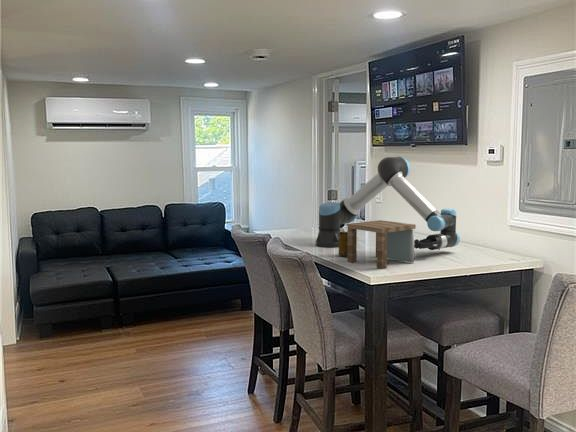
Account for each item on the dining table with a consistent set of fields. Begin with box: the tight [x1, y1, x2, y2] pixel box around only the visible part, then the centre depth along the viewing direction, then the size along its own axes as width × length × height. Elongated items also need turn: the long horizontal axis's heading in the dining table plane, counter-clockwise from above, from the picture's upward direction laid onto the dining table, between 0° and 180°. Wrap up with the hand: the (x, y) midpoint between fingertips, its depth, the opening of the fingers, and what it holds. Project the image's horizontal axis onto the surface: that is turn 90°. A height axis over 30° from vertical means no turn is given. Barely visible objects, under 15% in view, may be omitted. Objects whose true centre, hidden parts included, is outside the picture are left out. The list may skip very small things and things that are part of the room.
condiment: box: [334, 231, 348, 258], centre depth 274 cm, size 7×8×12 cm
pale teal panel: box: [387, 229, 416, 263], centre depth 260 cm, size 2×15×15 cm, turn 46°
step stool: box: [346, 219, 417, 270], centre depth 257 cm, size 22×22×18 cm
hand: (404, 246), depth 259 cm, fingers closed
